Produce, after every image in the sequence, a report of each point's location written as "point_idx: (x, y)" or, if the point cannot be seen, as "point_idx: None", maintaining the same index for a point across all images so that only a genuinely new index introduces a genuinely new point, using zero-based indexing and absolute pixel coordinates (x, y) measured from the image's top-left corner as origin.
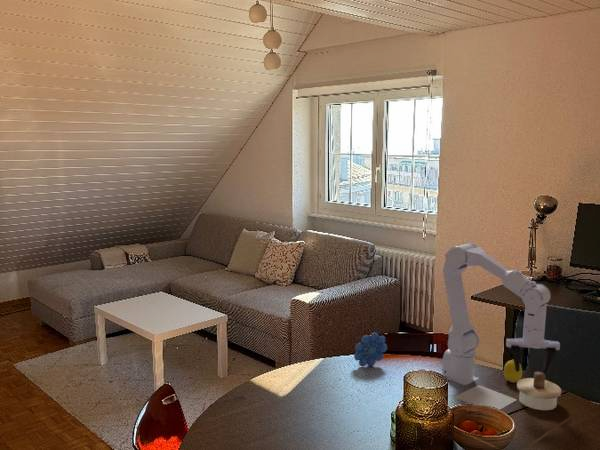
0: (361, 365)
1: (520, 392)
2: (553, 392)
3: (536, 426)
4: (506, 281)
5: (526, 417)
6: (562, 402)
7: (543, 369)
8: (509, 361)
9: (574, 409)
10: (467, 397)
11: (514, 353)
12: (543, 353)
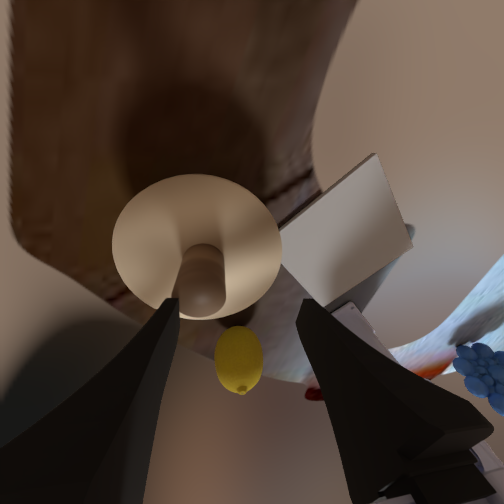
0: (481, 343)
1: None
2: (154, 215)
3: (271, 56)
4: None
5: (277, 138)
6: None
7: (176, 320)
8: (254, 384)
9: (89, 202)
10: (385, 246)
11: (455, 398)
12: (149, 450)
